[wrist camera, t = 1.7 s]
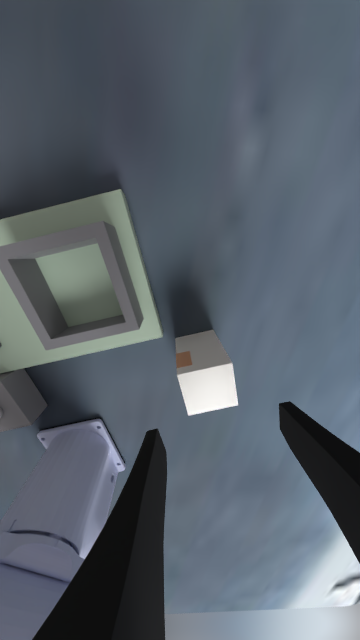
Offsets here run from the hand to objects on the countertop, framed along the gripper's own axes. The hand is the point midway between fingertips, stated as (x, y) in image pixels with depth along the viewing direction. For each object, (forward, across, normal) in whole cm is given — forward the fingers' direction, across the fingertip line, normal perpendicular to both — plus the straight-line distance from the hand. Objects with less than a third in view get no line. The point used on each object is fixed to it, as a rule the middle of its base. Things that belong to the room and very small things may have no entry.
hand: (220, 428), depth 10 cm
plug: (+9, 0, 0) cm, 9 cm away
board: (+9, +13, -9) cm, 18 cm away
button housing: (+9, +21, 0) cm, 23 cm away
